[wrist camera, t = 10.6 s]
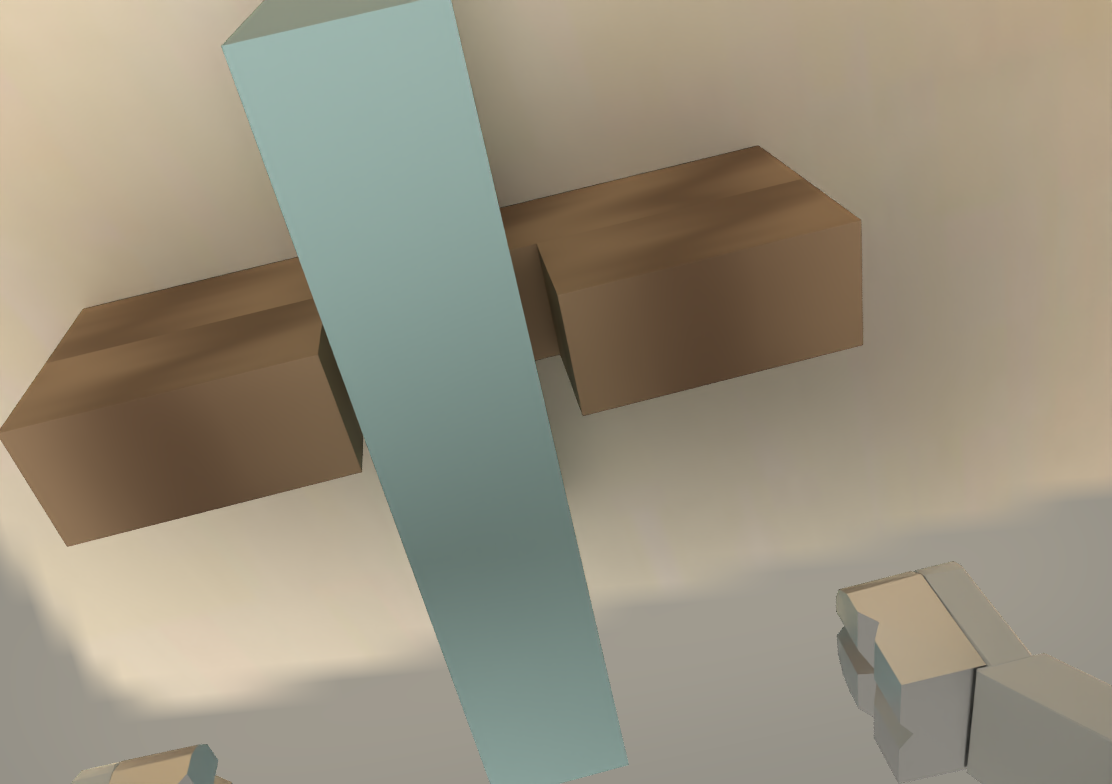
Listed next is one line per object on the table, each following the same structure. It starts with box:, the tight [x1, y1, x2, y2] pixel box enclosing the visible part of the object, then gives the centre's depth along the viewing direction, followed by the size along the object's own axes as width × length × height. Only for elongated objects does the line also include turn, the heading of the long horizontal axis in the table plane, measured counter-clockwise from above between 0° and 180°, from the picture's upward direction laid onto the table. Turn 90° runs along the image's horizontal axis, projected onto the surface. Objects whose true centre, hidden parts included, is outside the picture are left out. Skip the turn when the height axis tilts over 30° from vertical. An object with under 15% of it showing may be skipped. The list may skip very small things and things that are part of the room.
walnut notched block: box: [0, 146, 863, 547], centre depth 22 cm, size 18×3×6 cm, turn 101°
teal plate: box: [221, 0, 629, 784], centre depth 20 cm, size 3×16×10 cm, turn 11°
